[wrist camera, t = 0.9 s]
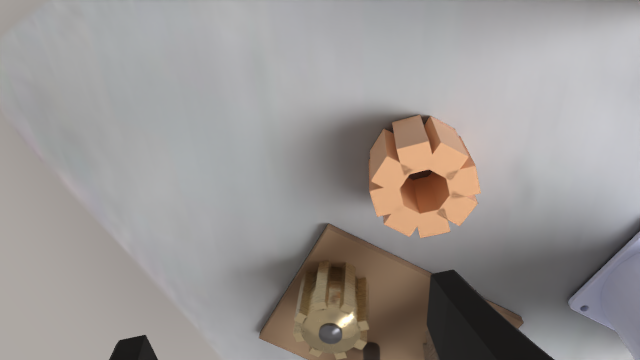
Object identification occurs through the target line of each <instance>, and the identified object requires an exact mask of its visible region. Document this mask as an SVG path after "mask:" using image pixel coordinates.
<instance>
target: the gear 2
mask: <svg viewBox="0 0 640 360" xmlns="http://www.w3.org/2000/svg"><path fill="white" fill-rule="evenodd" d="M425 333H426V339H427V343H423V350H424V357H425V360H439V357H438V354H437V352H436V349H435V347H434V344H433V341H432V338H431V336H430V333H429V330H427V331H426V332H425Z"/></svg>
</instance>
